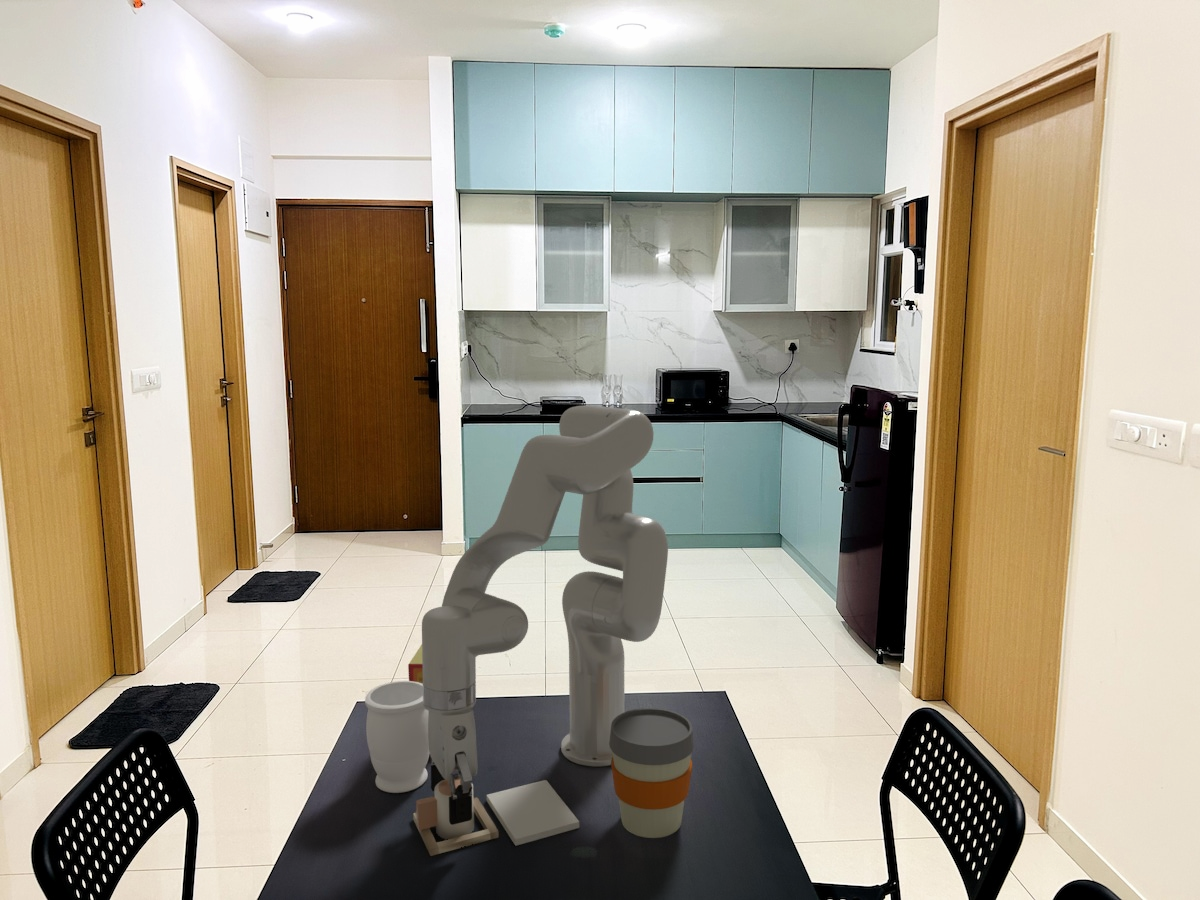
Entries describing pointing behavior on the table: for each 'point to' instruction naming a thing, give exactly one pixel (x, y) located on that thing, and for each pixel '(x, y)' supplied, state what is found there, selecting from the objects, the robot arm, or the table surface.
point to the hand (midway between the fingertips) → (451, 804)
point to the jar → (398, 735)
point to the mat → (532, 812)
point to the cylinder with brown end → (441, 813)
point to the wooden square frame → (463, 840)
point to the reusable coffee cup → (651, 769)
